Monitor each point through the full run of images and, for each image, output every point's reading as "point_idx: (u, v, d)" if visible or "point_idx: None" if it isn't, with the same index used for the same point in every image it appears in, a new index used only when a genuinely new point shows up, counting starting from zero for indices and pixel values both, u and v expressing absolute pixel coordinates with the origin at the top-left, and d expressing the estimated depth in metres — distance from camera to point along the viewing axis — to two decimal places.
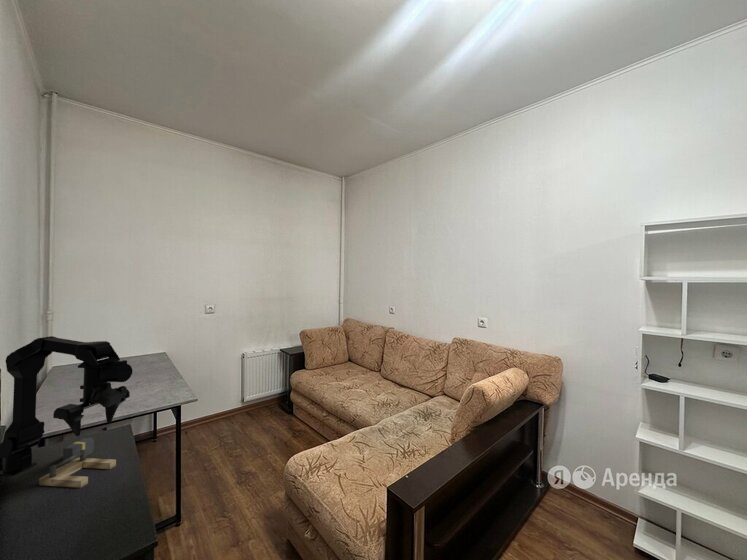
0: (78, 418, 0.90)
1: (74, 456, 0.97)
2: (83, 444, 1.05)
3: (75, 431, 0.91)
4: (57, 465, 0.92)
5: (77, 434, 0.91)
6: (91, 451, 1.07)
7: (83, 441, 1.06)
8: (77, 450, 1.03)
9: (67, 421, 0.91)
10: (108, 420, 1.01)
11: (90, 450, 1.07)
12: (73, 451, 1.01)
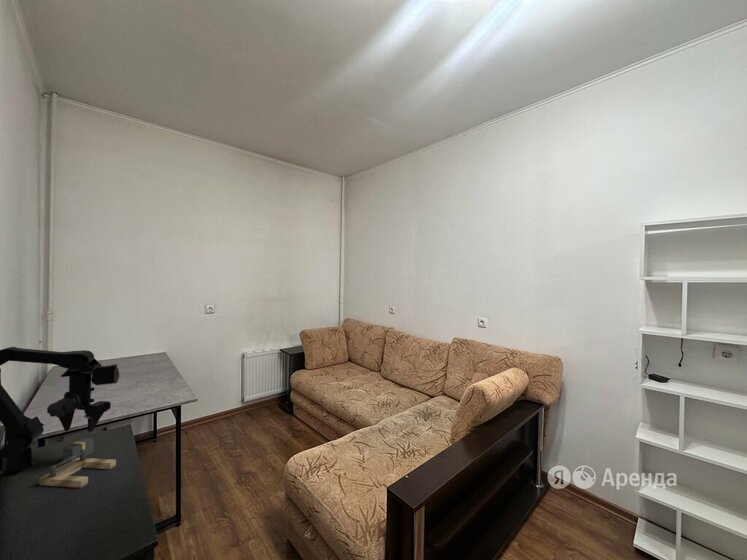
0: (55, 415, 1.03)
1: (74, 456, 0.97)
2: (83, 444, 1.05)
3: None
4: (57, 465, 0.92)
5: None
6: (91, 451, 1.07)
7: (83, 441, 1.06)
8: (77, 450, 1.03)
9: None
10: None
11: (90, 450, 1.07)
12: (73, 451, 1.01)
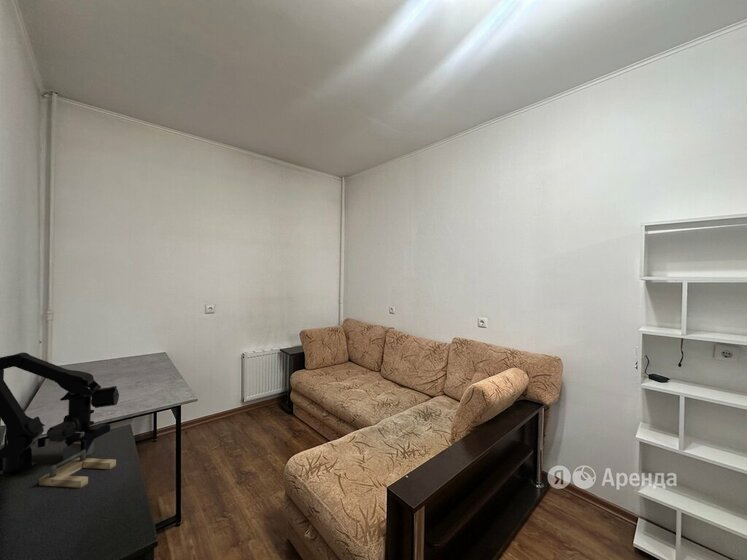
0: None
1: (74, 456, 0.97)
2: None
3: None
4: (57, 465, 0.92)
5: None
6: (91, 451, 1.07)
7: None
8: (77, 450, 1.03)
9: None
10: None
11: (90, 450, 1.07)
12: (73, 451, 1.01)
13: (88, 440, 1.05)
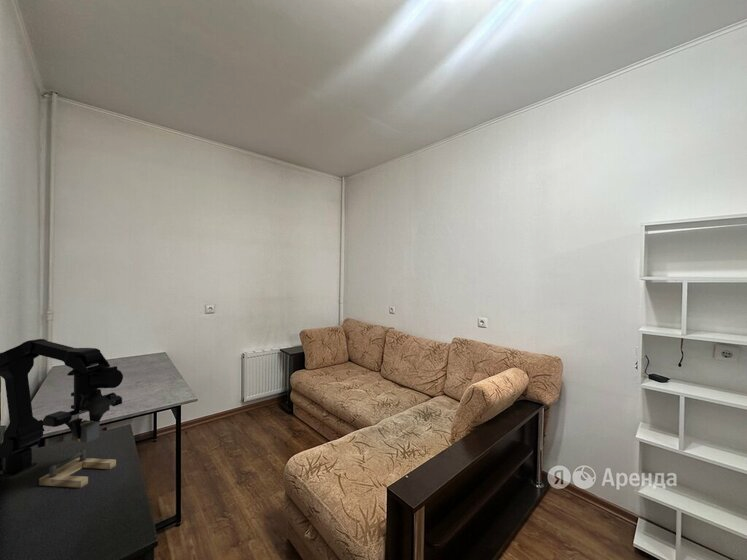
0: (77, 421, 0.93)
1: (74, 456, 0.97)
2: None
3: (75, 434, 0.95)
4: (57, 465, 0.92)
5: (77, 437, 0.95)
6: None
7: (84, 422, 0.98)
8: None
9: (68, 424, 0.94)
10: None
11: None
12: None
13: None
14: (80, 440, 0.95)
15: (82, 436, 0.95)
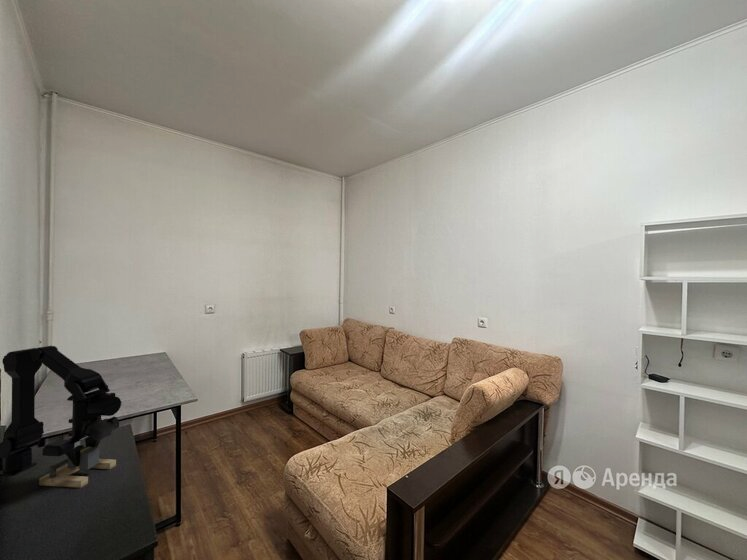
0: (78, 449, 0.91)
1: None
2: None
3: (74, 462, 0.92)
4: (57, 465, 0.92)
5: (76, 464, 0.92)
6: None
7: (81, 449, 0.95)
8: None
9: (66, 452, 0.91)
10: None
11: None
12: None
13: None
14: (79, 468, 0.93)
15: (81, 464, 0.93)
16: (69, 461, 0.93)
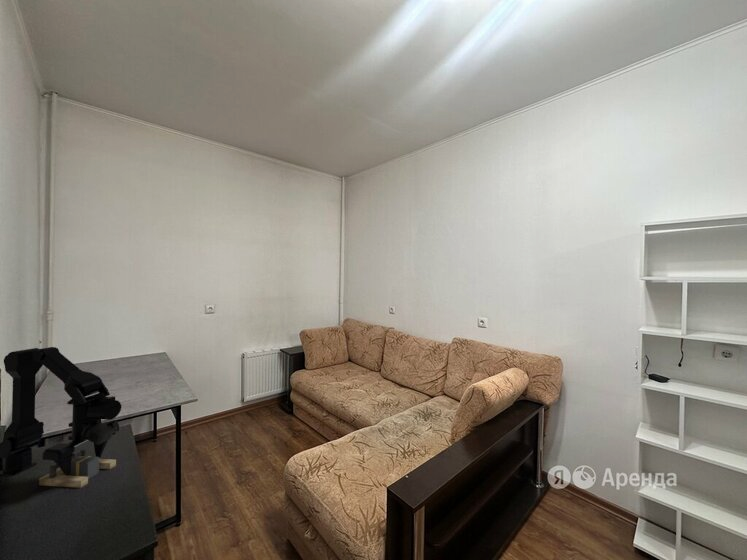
0: (69, 458, 0.88)
1: (74, 456, 0.97)
2: None
3: (65, 471, 0.90)
4: (57, 465, 0.92)
5: (67, 474, 0.90)
6: None
7: (81, 458, 0.95)
8: None
9: (56, 461, 0.89)
10: (97, 455, 0.99)
11: None
12: None
13: None
14: None
15: (81, 473, 0.93)
16: None
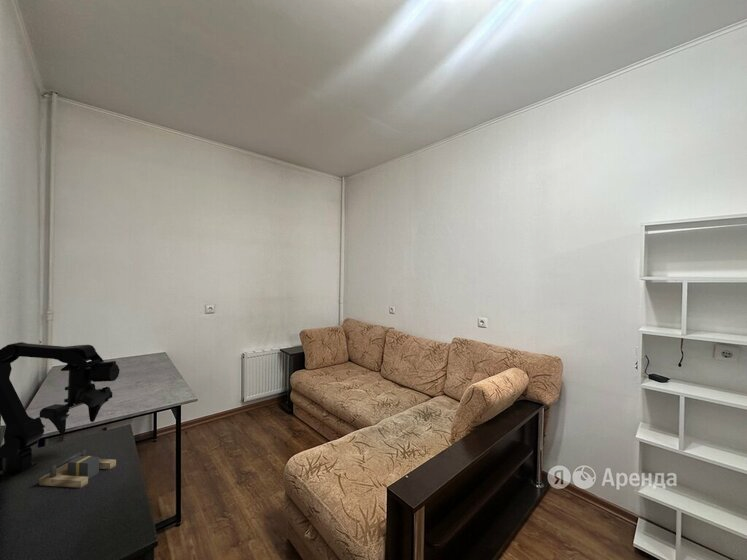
0: (64, 417, 0.96)
1: (74, 456, 0.97)
2: None
3: (60, 430, 0.97)
4: (57, 465, 0.92)
5: (62, 432, 0.97)
6: None
7: (81, 458, 0.95)
8: None
9: (52, 420, 0.96)
10: (91, 419, 1.06)
11: None
12: None
13: None
14: None
15: (81, 473, 0.93)
16: (69, 471, 0.93)
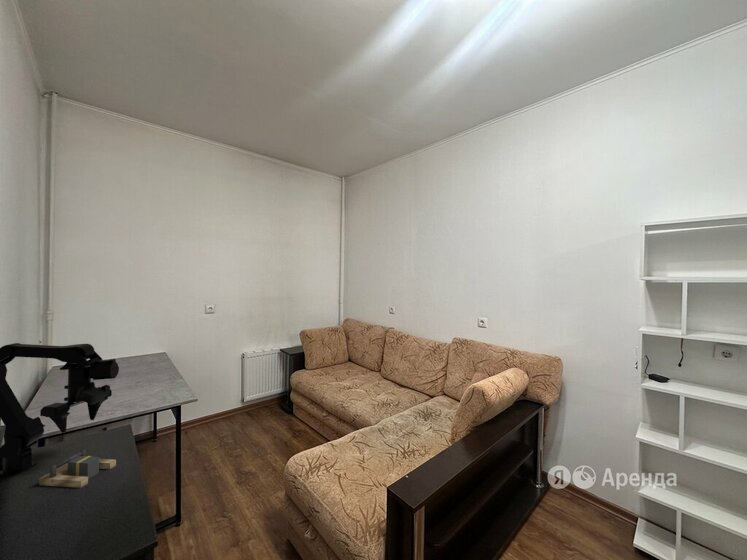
0: (65, 415, 0.96)
1: (74, 456, 0.97)
2: None
3: (61, 428, 0.98)
4: (57, 465, 0.92)
5: (63, 430, 0.98)
6: None
7: (81, 458, 0.95)
8: None
9: (53, 419, 0.97)
10: (91, 418, 1.07)
11: None
12: None
13: None
14: None
15: (81, 473, 0.93)
16: (69, 471, 0.93)
